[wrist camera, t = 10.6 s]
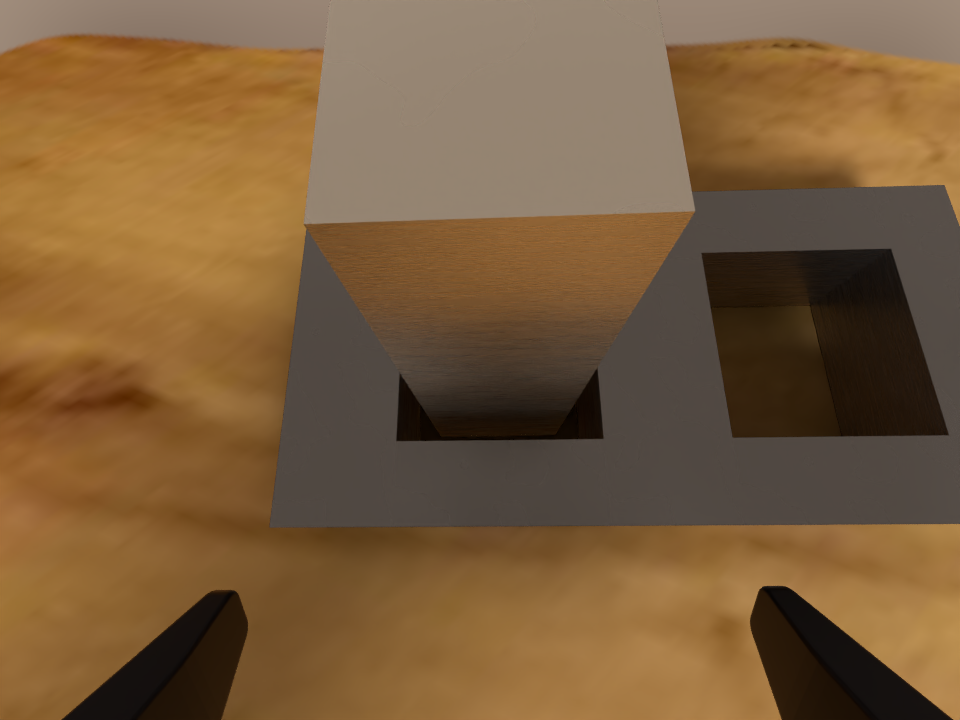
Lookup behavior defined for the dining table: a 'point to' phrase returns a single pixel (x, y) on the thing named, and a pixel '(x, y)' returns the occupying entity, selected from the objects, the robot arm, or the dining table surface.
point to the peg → (496, 192)
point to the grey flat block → (669, 389)
